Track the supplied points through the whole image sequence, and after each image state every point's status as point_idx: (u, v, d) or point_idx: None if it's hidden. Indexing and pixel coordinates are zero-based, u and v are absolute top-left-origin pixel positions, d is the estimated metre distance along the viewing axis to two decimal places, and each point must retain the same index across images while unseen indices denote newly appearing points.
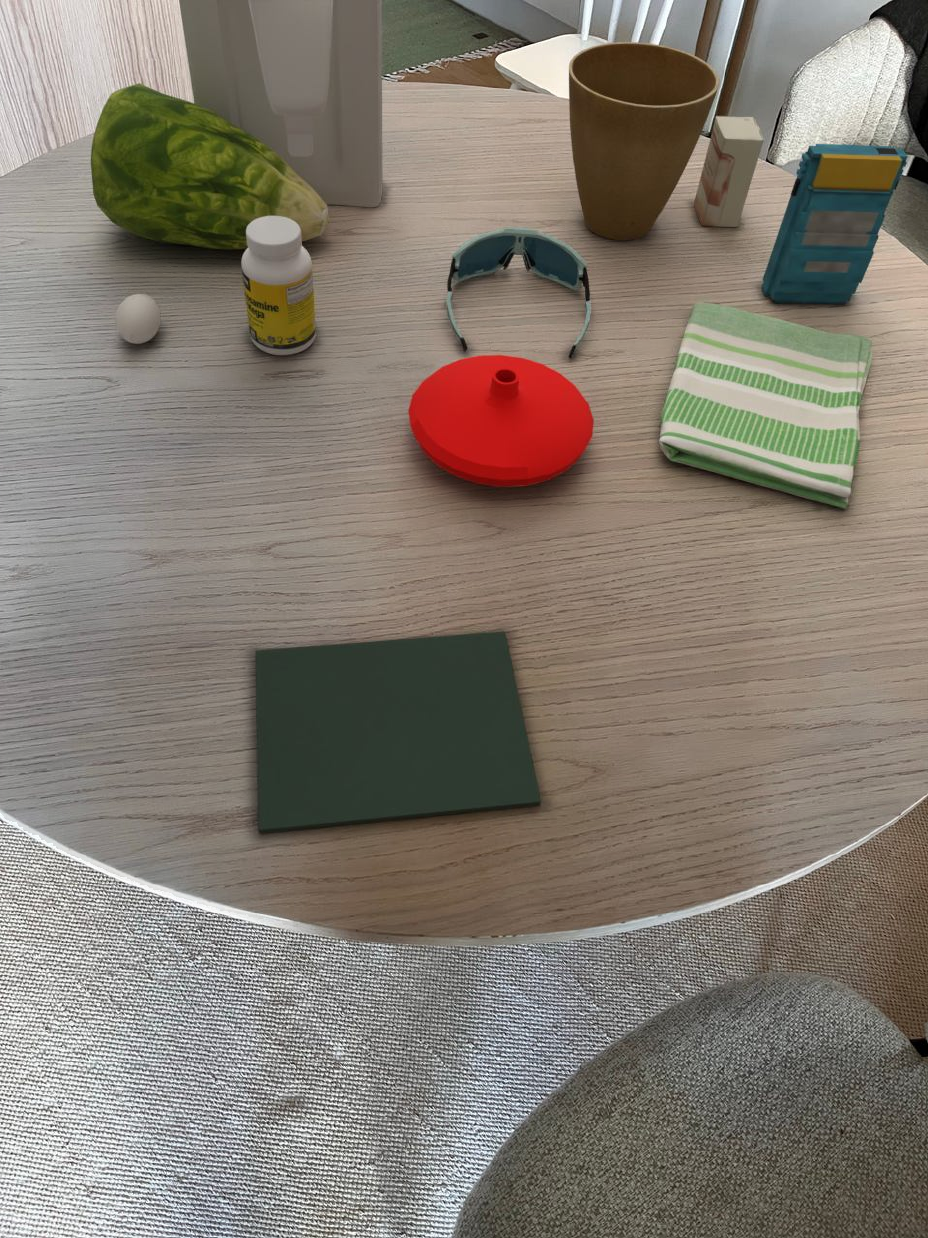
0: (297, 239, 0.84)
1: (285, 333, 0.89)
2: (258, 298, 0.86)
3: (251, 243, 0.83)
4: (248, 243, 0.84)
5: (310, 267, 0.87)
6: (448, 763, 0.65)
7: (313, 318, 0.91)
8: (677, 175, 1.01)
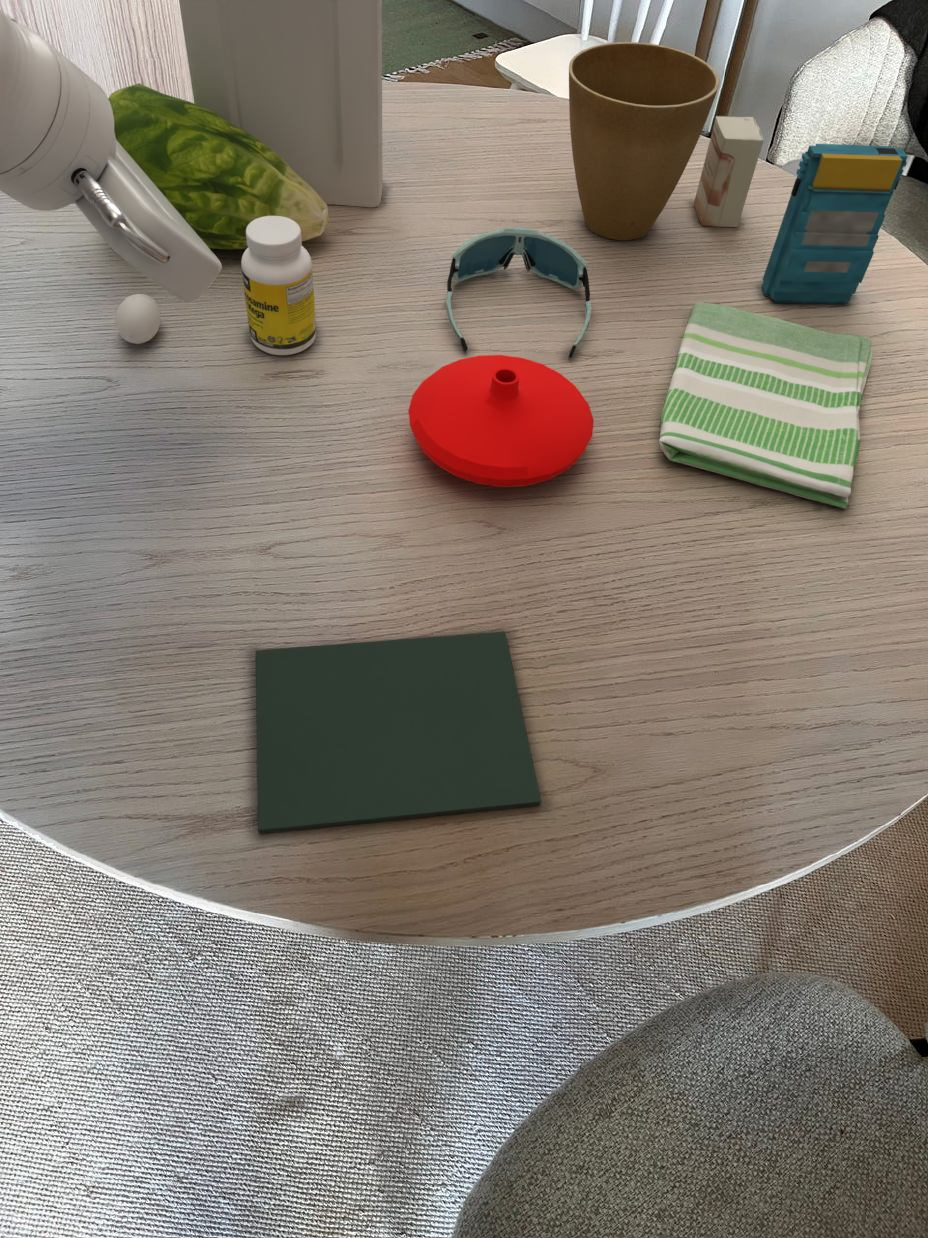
0: (297, 239, 0.84)
1: (285, 333, 0.89)
2: (258, 298, 0.86)
3: (251, 243, 0.83)
4: (248, 243, 0.84)
5: (310, 267, 0.87)
6: (448, 763, 0.65)
7: (313, 318, 0.91)
8: (677, 175, 1.01)
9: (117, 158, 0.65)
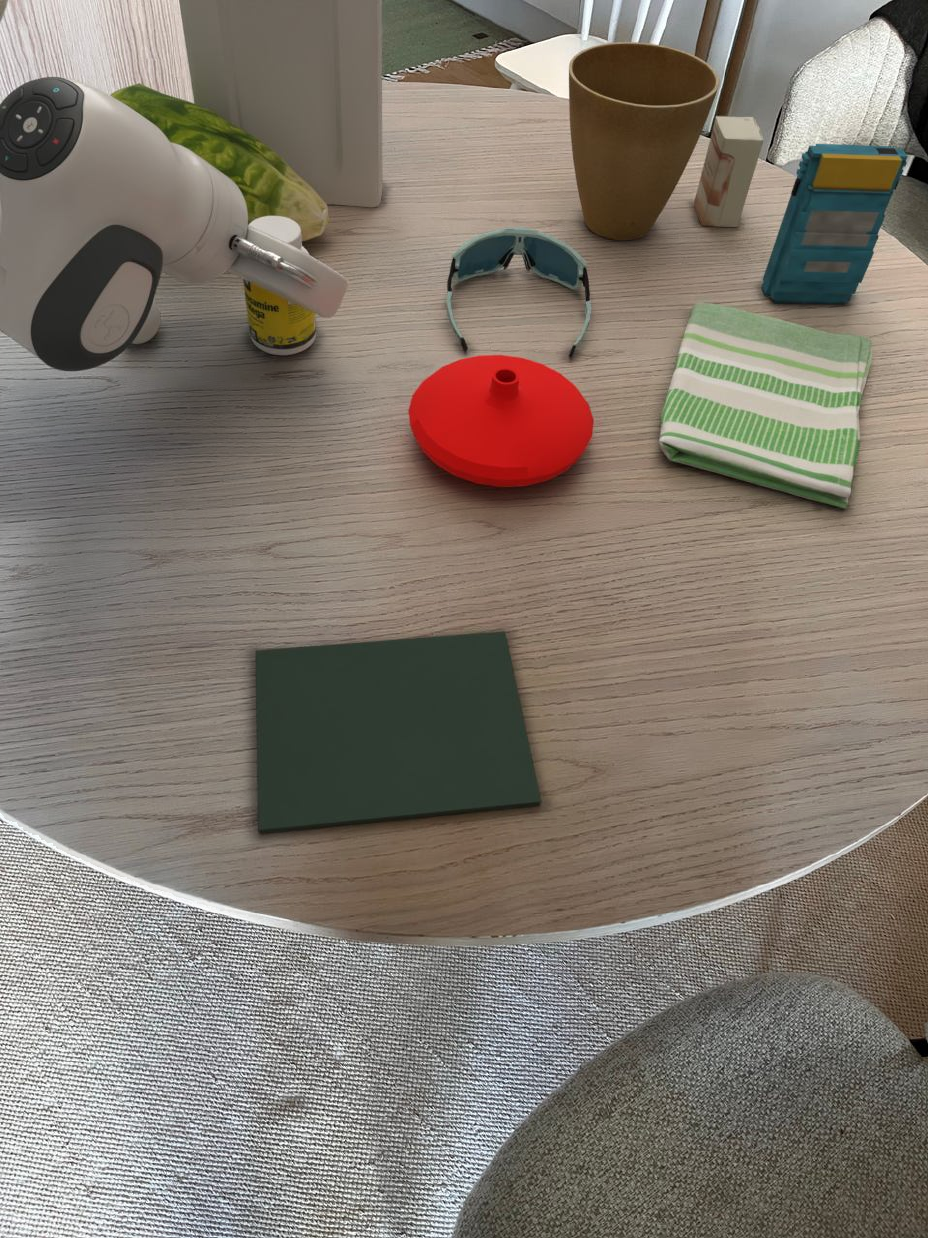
0: (297, 239, 0.84)
1: (286, 333, 0.89)
2: (258, 298, 0.86)
3: None
4: None
5: None
6: (448, 763, 0.65)
7: (313, 318, 0.91)
8: (677, 175, 1.01)
9: None
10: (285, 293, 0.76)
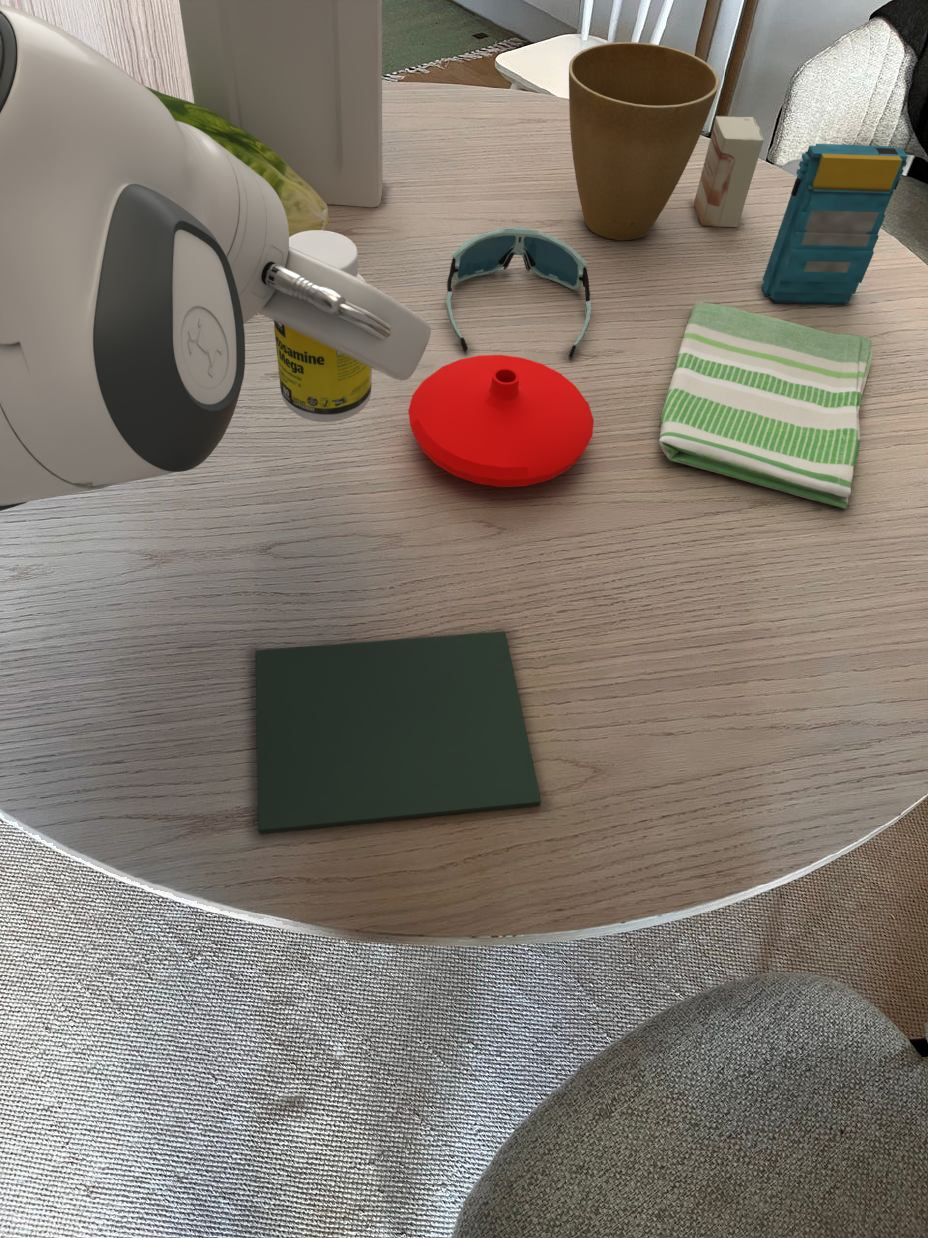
0: (353, 263, 0.59)
1: (332, 393, 0.64)
2: (296, 347, 0.61)
3: None
4: None
5: None
6: (448, 763, 0.65)
7: (369, 371, 0.65)
8: (677, 175, 1.01)
9: None
10: (345, 349, 0.50)
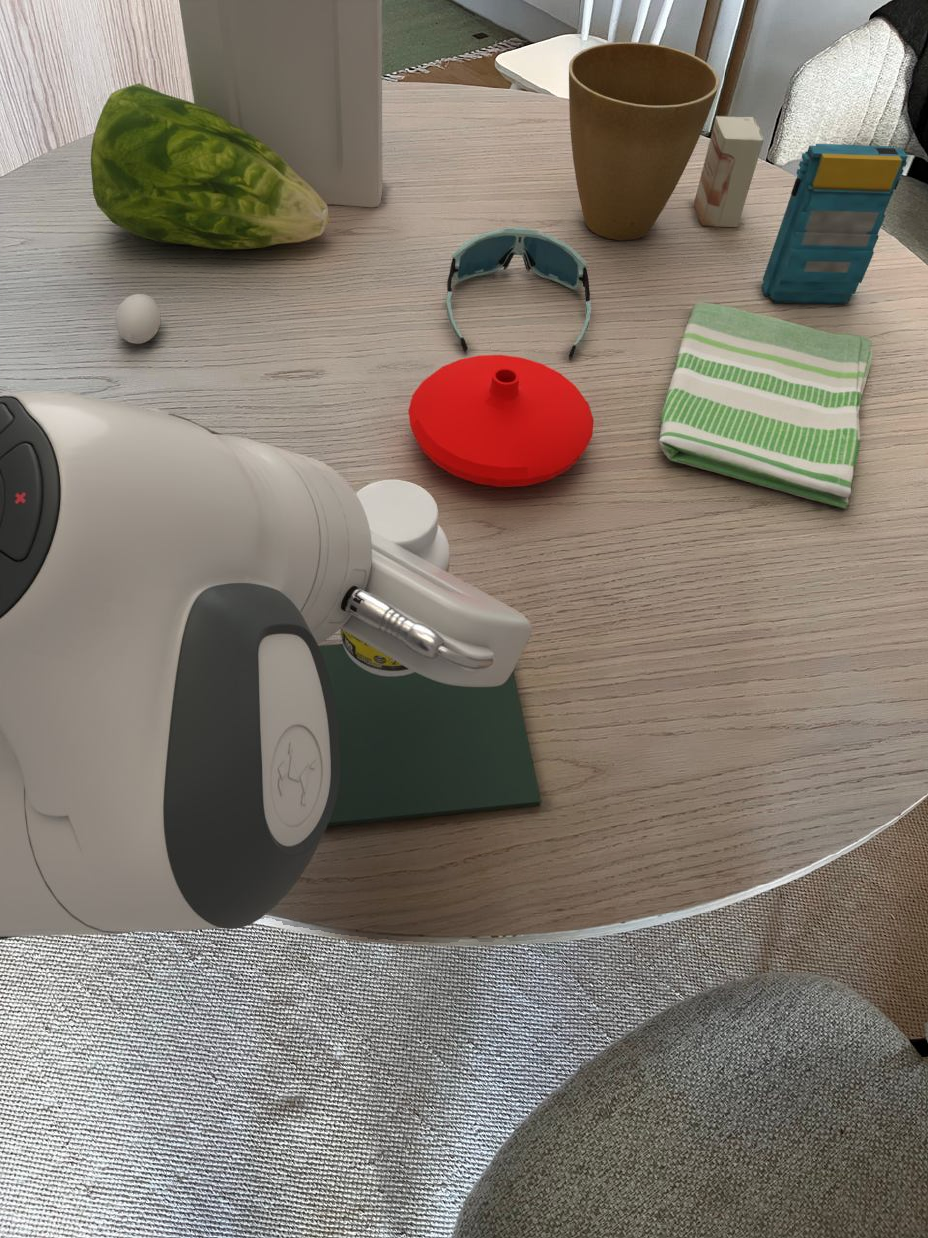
0: (434, 527, 0.50)
1: None
2: None
3: None
4: None
5: (448, 559, 0.53)
6: (448, 763, 0.65)
7: None
8: (677, 175, 1.01)
9: None
10: None
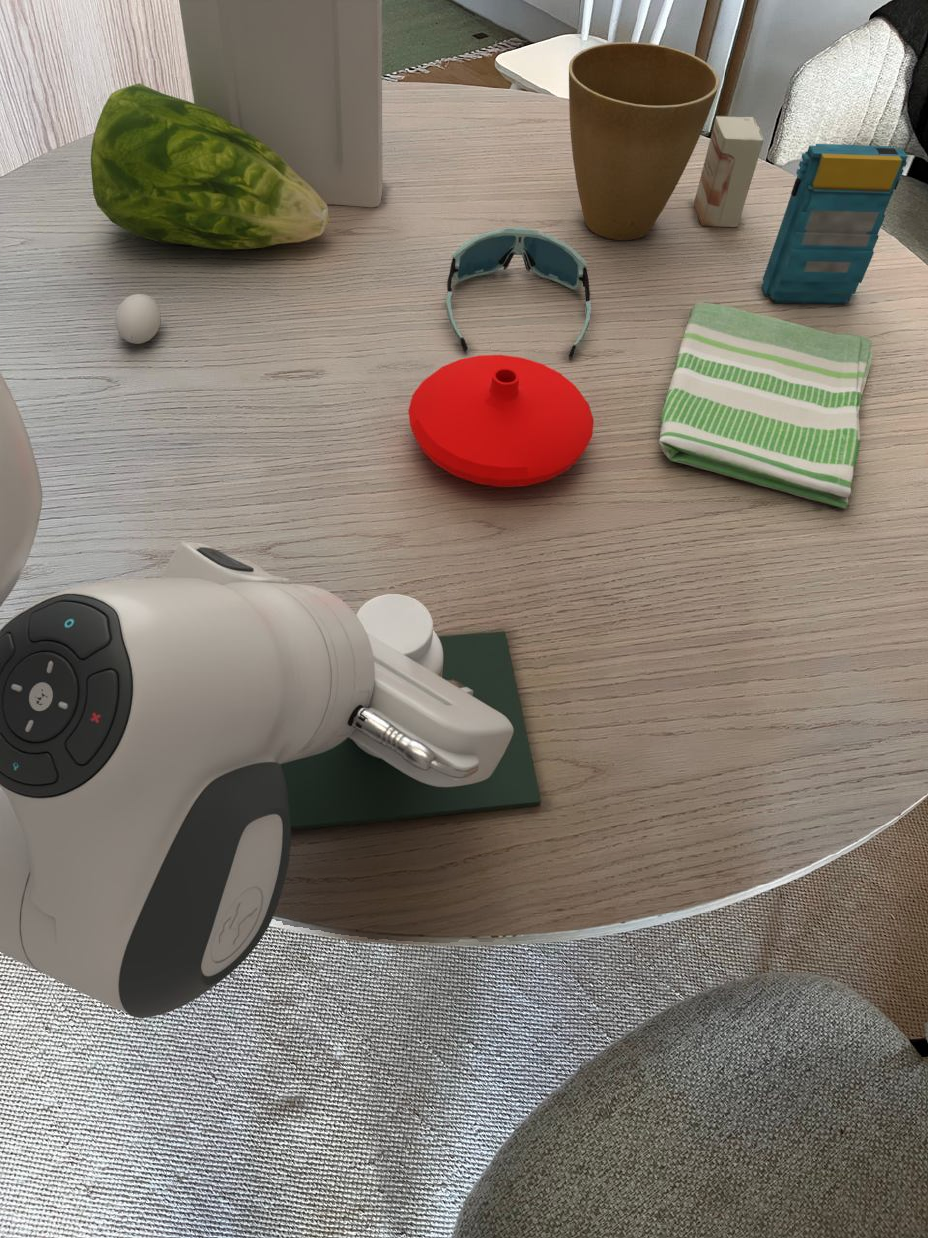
0: (429, 639, 0.57)
1: None
2: None
3: None
4: None
5: (442, 662, 0.60)
6: None
7: None
8: (677, 175, 1.01)
9: None
10: (432, 785, 0.49)
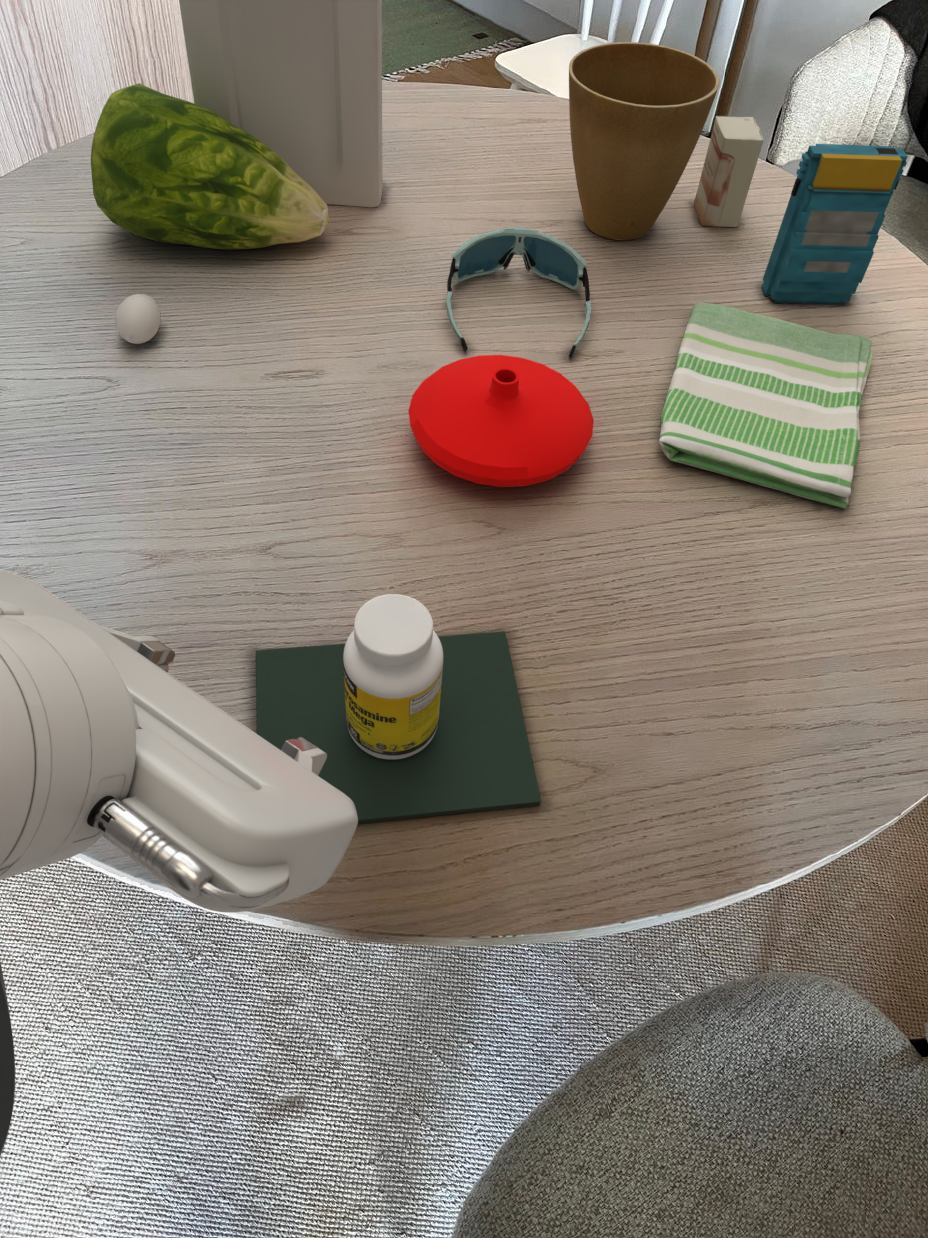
0: (429, 639, 0.57)
1: (402, 741, 0.63)
2: (368, 708, 0.60)
3: (363, 648, 0.57)
4: (357, 645, 0.58)
5: (442, 662, 0.60)
6: (448, 763, 0.65)
7: (438, 710, 0.64)
8: (677, 175, 1.01)
9: (134, 700, 0.38)
10: None
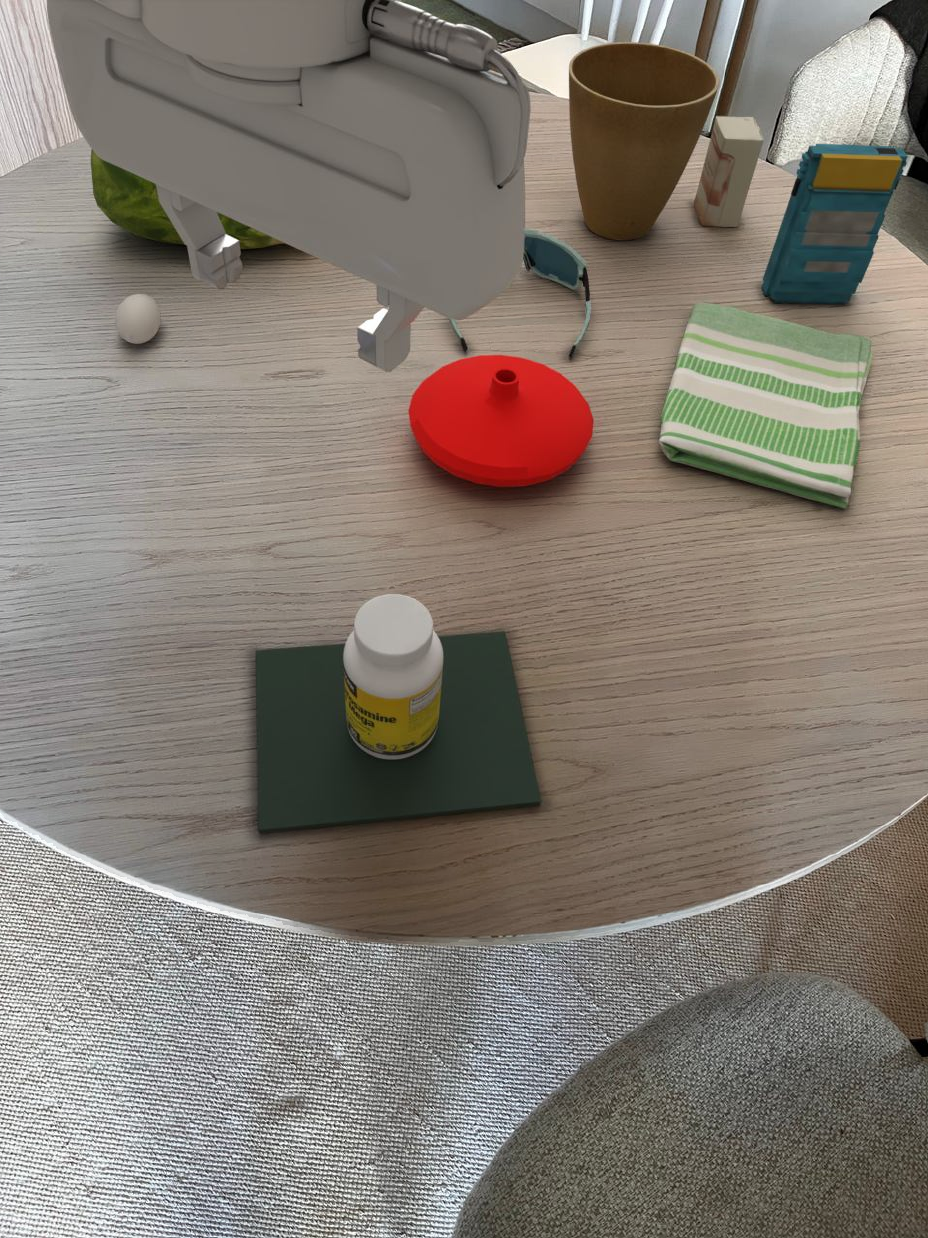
0: (429, 639, 0.57)
1: (402, 741, 0.63)
2: (368, 708, 0.60)
3: (363, 648, 0.57)
4: (357, 645, 0.58)
5: (442, 662, 0.60)
6: (448, 763, 0.65)
7: (438, 710, 0.64)
8: (677, 175, 1.01)
9: None
10: (455, 142, 0.31)
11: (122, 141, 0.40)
